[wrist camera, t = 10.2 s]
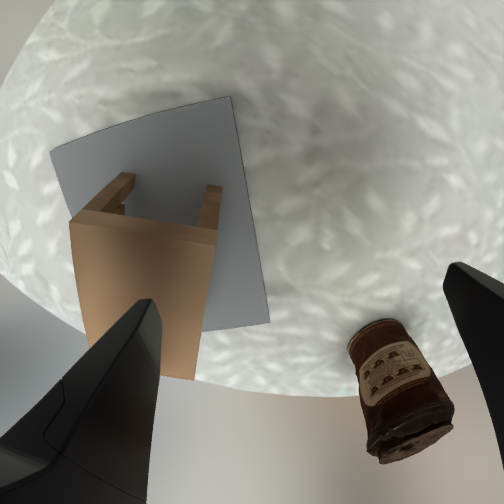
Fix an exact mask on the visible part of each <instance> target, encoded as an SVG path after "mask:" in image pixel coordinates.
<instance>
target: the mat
mask: <svg viewBox="0 0 504 504" xmlns="http://www.w3.org/2000/svg"><path fill="white" fill-rule="evenodd" d="M49 153H50V156H51V159H52V163H53V166H54V169H55V172H56V175H57V178H58V181H59V184H60V187H61V190H62V192H63V195H64V198H65V201H66V203H67V206H68V209H69V211H70V214H71V216H72V218H73V217H74V216H75V215H76V214H77V213H78V212H79V211H80V210H81V209H82V208H83V207H84V206H85V205H86V204H87V203H88V202H89V201H90V200H91V199H93V198H94V197H95V196H96V195H97V194H98V193H99V192H100V191H101V190H102V189H103V188H104V187H105V186H106V185H108V184H109V183H110V182H111V181H112V180H113V179H114V178H115V177H117V176H118V175H119V174H120V173H121V172H125V173H133V174H135V187H134V189H133V190H132V191H131V193H130V194H129V195H128V196H127V197H126V198H125V200H124V201H123V202H122V203H121V204H125V216H131V217H138V218H144V219H150V220H157V221H163V222H169V223H175V224H182V225H188V226H194V227H196V225H197V221H198V217H199V213H200V210H201V206H202V202H203V198H204V195H205V191H206V187H207V185H213V186H219V187H223V188H222V197H221V205H220V214H219V222H218V231H217V241H216V248H215V254H214V259H213V265H212V271H211V276H210V282H209V288H208V294H207V300H206V306H205V312H204V318H203V324H202V330H201V332H205V331H214V330H222V329H230V328H237V327H245V326H252V325H259V324H265V323H270V319H269V313H268V307H267V301H266V295H265V289H264V284H263V278H262V272H261V266H260V260H259V255H258V249H257V243H256V238H255V232H254V226H253V220H252V215H251V209H250V203H249V198H248V192H247V187H246V181H245V175H244V170H243V164H242V159H241V153H240V147H239V142H238V136H237V131H236V125H235V120H234V114H233V109H232V103H231V98H230V97H225V98H220V99H215V100H210V101H205V102H200V103H195V104H191V105H187V106H182V107H178V108H174V109H170V110H166V111H163V112H159V113H155V114H152V115H148V116H145V117H141V118H138V119H135V120H131V121H128V122H125V123H122V124H119V125H116V126H113V127H110V128H107V129H104V130H101V131H99V132H96V133H93V134H90V135H88V136H85V137H83V138H80V139H77V140H75V141H72V142H70V143H68V144H65V145H63V146H60V147H58V148H56V149H53V150H51V151H49Z"/></svg>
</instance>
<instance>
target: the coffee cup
mask: <svg viewBox="0 0 504 504" xmlns="http://www.w3.org/2000/svg"><path fill="white" fill-rule="evenodd" d="M347 350H348V352H349V354H350V358H351V359H352V362H353V364H354V365H355V368H356V373H355V374H356V376H357V379H358V383H359V396H360V402H361V407H362V409H363V414H364V418H365V421H366V427H367V432H368V440H367V444H366V445H367V452H368V453H369V454H371V455H372V456H377V457H378V459H379V463H380V464H388V463H392V462H395V461H399V460H403V459H404V458H407V457H410V456H412V455H414V454H417V453H419V452H421V451H422V450H424V449H425V448H427V447H429V446H430V445H432V444H434V443H436V441H438V440H439V439H440V438H441V437H442V436H444V435H446V434H447V433H448V432H450V431H451V430H452V429H453V425H452V424H451V421H452V417H453V415H454V404H453V403H452V401H451V400H450V398H449V397H448V395H447V394H446V392H445V391H444V389H443V387H442V385H441V383H440V381H439V380H438V379H437V377H436V375H435V373H434V371H433V370H432V368H431V367H430V365H429V364H428V363H427V361H426V360H425V358H424V356H423V355H422V353H421V351H420V350H419V348H418V346H417V345H416V343H415V342H414V341H413V340H412V338H411V337H410V336H409V335H408V334H407V332H406V330H405V328H404V327H403V325H402V324H401V323H400V322H398V321H395V320H383V321H380V322H376V323H373V324H371V325H369V326H368V327H366V328H365V329H363V330H362V331H361V332H359V333H358V334H357V335H356V336H355V337H354V338H353V339H352V340H351V342H350V345H349V347H348V349H347Z"/></svg>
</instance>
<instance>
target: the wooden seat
mask: <svg viewBox="0 0 504 504" xmlns="http://www.w3.org/2000/svg"><path fill="white" fill-rule="evenodd" d="M134 187H135V174H133V173H125V172H121V173H120V174H119V175H118V176H117V177H115V178H114V179H113V180H112V181H111V182H110V183H109V184H108V185H106V186H105V187H104V188H103V189H102V190H101V191H100V192H99V193H98V194H97V195H96V196H95V197H94V198H93V199H91V200H90V201H89V202H88V203H87V204H86V205H85V206H84V207H83V208H82V209H81V210H80V211H79V212H78V213H77V214H76V215H75V216H74V217H73V218H72V219H71V220H70V221H69V229H70V240H71V249H72V258H73V265H74V272H75V279H76V285H77V291H78V297H79V302H80V308H81V313H82V317H83V322H84V327H85V331H86V335H87V339H88V344H89V347H90V348H91V347H92V346H93V345H94V344H95V343H96V342H97V341H98V340H99V338H100V337H101V336H102V335H103V334H104V333H105V332H106V331H107V330H108V329H109V328H110V327H111V326H112V325H113V324H114V323H115V322H116V321H117V320H118V319H119V318H120V317H121V316H122V315H123V314H124V313H125V312H126V311H127V310H128V309H129V308H131V307H132V306H133V305H134V304H135V303H136V302H137V301H138V300H139V299H149V298H151V299H153V300H154V301H155V304H156V306H157V309H158V312H159V314H160V317H161V319H162V326H163V327H162V346H161V369H160V375H162V376H168V377H174V378H180V379H187V380H194V377H195V370H196V363H197V357H198V350H199V343H200V337H201V330H202V324H203V318H204V312H205V306H206V300H207V294H208V288H209V282H210V276H211V271H212V265H213V259H214V254H215V248H216V241H217V231H218V222H219V214H220V205H221V197H222V188H223V187H219V186H213V185H207V187H206V191H205V195H204V198H203V202H202V206H201V210H200V213H199V217H198V221H197V225H196V227H194V226H188V225H182V224H175V223H169V222H163V221H157V220H150V219H144V218H138V217H131V216H125V204H121V203H122V202H123V201H124V200H125V198H126V197H127V196H128V195H129V194H130V193H131V191H132V190H133V189H134Z"/></svg>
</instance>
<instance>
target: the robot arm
mask: <svg viewBox="0 0 504 504" xmlns="http://www.w3.org/2000/svg"><path fill="white" fill-rule="evenodd" d="M443 291H444V294H445V296H446V299H447V301H448V304H449V307H450V309H451V312H452V315H453V317H454V320H455V323H456V326H457V328H458V331H459V333H460V336H461V338H462V340H463V342H464V345H465V347H466V349H467V352H468V354H469V357H470V359H471V362H472V364H473V367H474V369H475V372H476V375H477V377H478V380H479V382H480V385H481V388H482V391H483V394H484V397H485V400H486V403H487V406H488V409H489V413H490V416H491V419H492V423H493V426H494V430H495V433H496V438H497V442H498V446H499V450H500V455H501V459H502V464H503V469H504V283H502V282H500V281H498V280H496V279H494V278H492V277H490V276H488V275H487V274H485V273H483V272H481V271H479V270H477V269H475V268H473V267H471V266H469V265H467V264H465V263H463V262H454V263H451V264H450V265H449V267H448V270H447V273H446V276H445V279H444V282H443ZM162 327H163V326H162V319H161V317H160V314H159V312H158V309H157V306H156V304H155V301H154V300H153V299H151V298H149V299H139V300H138V301H137V302H136V303H135V304H134V305H133V306H132V307H131V308H129V309H128V310H127V311H126V312H125V313H124V314H123V315H122V316H121V317H120V318H119V319H118V320H117V321H116V322H115V323H114V324H113V325H112V326H111V327H110V328H109V329H108V330H107V331H106V332H105V333H104V334H103V335H102V336H101V337H100V338H99V340H98V341H97V342H96V343H95V344H94V345H93V346H92V347H91V348H90V349H89V350H88V351H87V352H86V353H85V354H84V355H83V356H82V357H81V358H80V359H79V360H78V361H77V362H76V363H75V364H74V365H73V366H72V367H71V369H70V370H69V371H68V372H67V373H66V374H65V375H64V376H63V377H62V379H60V380H59V381H58V382H57V383H56V384H55V386H54V387H53V388H52V389H51V390H50V391H49V392H48V393H47V394H46V395H45V396H44V397H43V398H42V399H41V400H40V401H39V402H38V403H37V404H36V405H35V406H34V407H33V408H32V409H31V410H30V411H29V412H28V413H26V414H25V415H24V416H23V417H22V418H21V419H20V420H19V421H18V422H17V423H16V424H15V425H14V426H12V428H11V429H9V430H8V431H7V432H6V433H5V434H4V435H3V436H2V437H1V438H0V504H146V500H147V485H148V472H149V461H150V450H151V441H152V432H153V424H154V416H155V415H154V414H155V408H156V400H157V393H158V386H159V379H160V369H161V346H162Z"/></svg>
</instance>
